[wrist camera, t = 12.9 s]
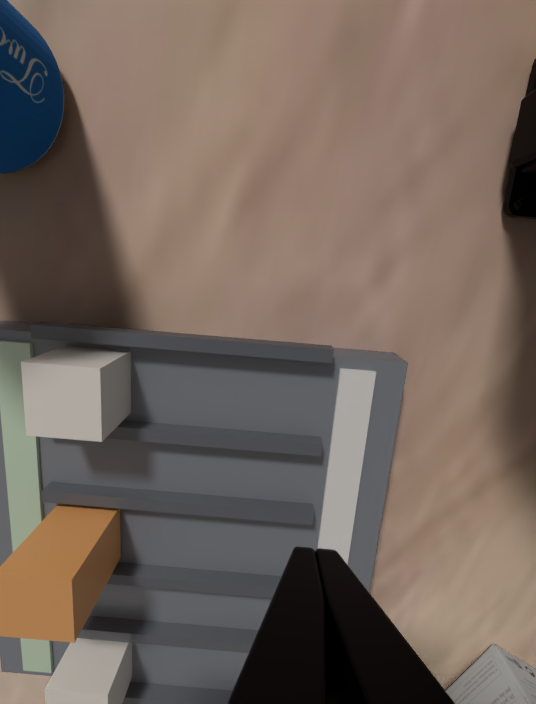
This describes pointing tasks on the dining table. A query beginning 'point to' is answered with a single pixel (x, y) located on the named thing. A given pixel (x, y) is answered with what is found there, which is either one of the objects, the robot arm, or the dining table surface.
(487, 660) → the supplement box
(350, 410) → the board
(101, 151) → the dining table surface
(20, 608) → the handle
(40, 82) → the beverage can
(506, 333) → the dining table surface
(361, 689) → the robot arm
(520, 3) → the dining table surface
